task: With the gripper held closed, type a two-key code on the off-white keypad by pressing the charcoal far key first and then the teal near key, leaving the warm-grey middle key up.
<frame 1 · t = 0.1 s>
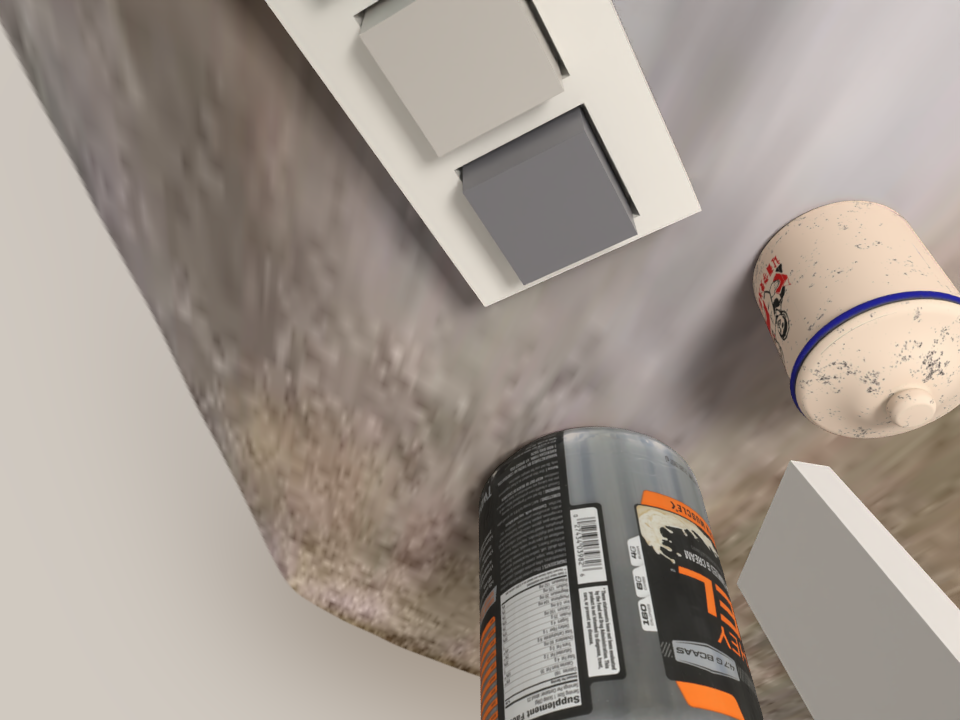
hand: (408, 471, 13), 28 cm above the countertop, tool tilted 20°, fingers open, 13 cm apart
grey key: (464, 49, 33), point 3 cm above the countertop, slide at 0.0 cm
charcoal key: (549, 196, 38), point 3 cm above the countertop, slide at 0.0 cm
supplement tub: (586, 487, 58), on the countertop
keypad: (464, 20, 36), on the countertop
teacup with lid: (834, 280, 46), on the countertop
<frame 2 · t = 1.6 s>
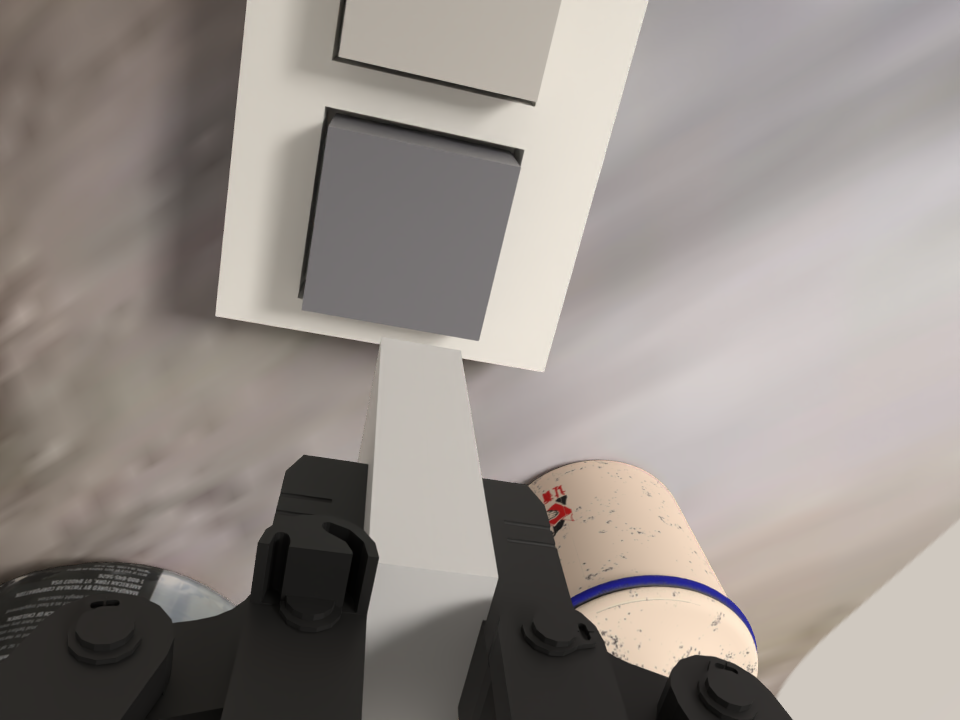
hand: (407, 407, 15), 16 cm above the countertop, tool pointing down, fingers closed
charcoal key: (408, 228, 27), point 3 cm above the countertop, slide at 0.0 cm
supplement tub: (125, 672, 38), on the countertop
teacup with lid: (578, 558, 38), on the countertop
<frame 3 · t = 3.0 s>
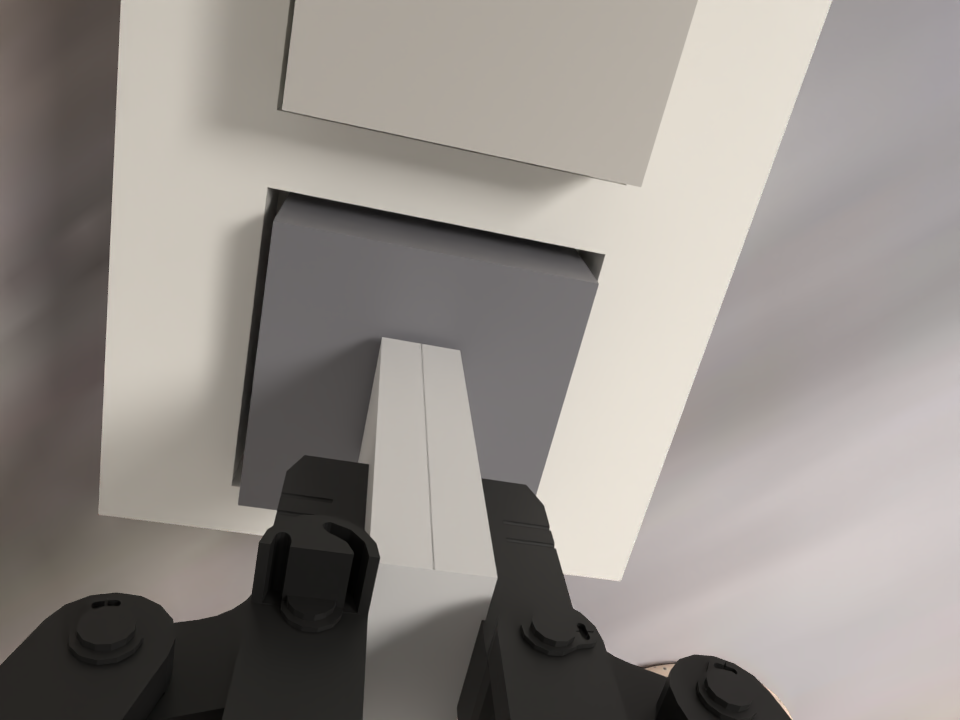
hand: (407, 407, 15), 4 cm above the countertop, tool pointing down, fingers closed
charcoal key: (410, 366, 17), point 3 cm above the countertop, slide at 0.7 cm, touching gripper
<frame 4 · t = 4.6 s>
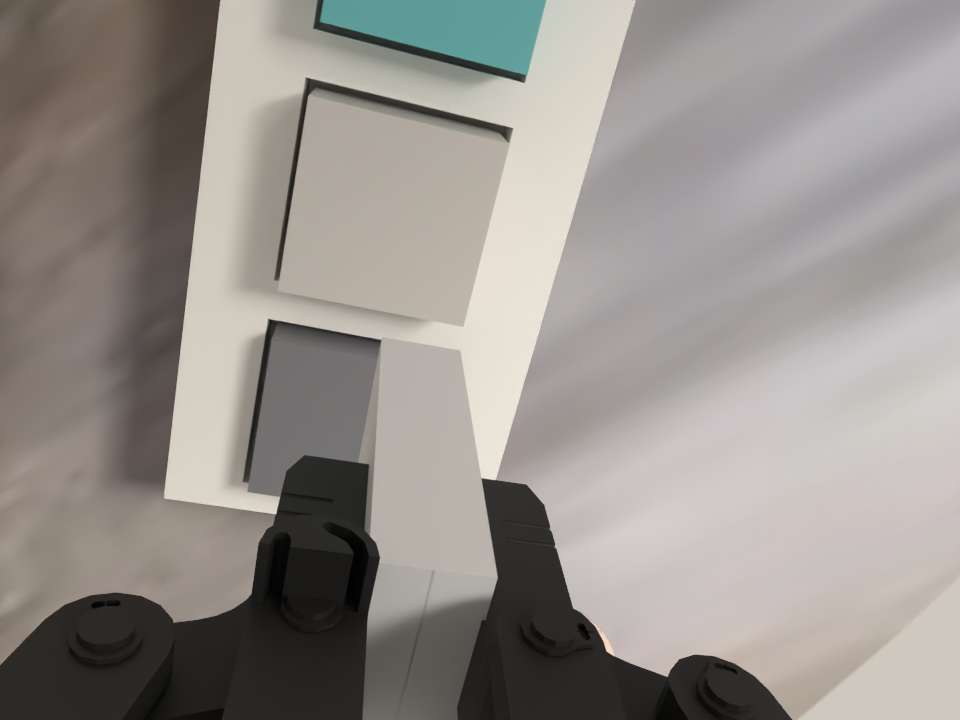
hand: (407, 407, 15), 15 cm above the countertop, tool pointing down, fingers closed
grey key: (391, 208, 26), point 3 cm above the countertop, slide at 0.0 cm
charcoal key: (347, 413, 30), point 3 cm above the countertop, slide at 0.7 cm
keypad: (390, 187, 29), on the countertop
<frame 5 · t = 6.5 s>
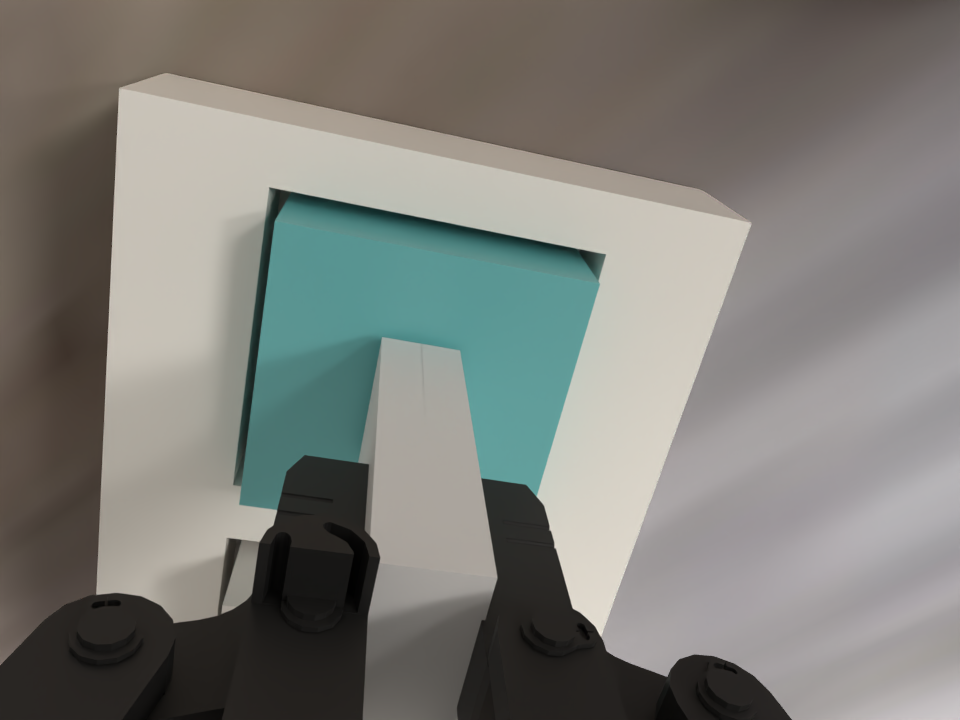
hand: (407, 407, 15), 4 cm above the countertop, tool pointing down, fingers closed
grey key: (350, 672, 19), point 3 cm above the countertop, slide at 0.0 cm
teal key: (411, 366, 17), point 3 cm above the countertop, slide at 0.7 cm, touching gripper
keypad: (357, 582, 22), on the countertop
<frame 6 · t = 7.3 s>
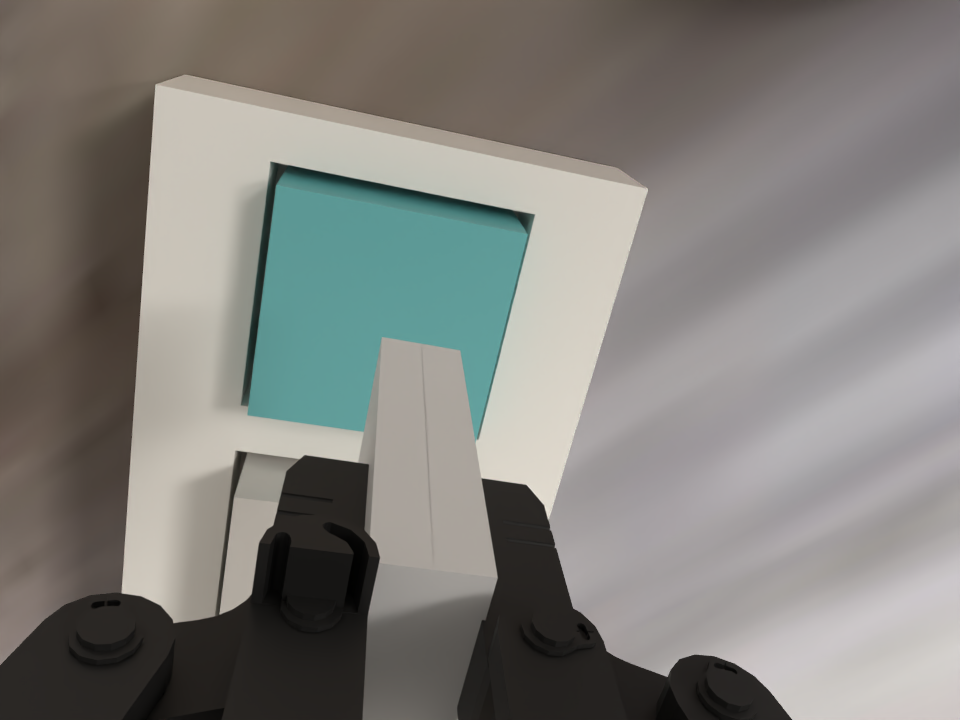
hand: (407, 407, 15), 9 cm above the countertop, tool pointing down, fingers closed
grey key: (336, 567, 24), point 3 cm above the countertop, slide at 0.0 cm
teal key: (383, 306, 21), point 3 cm above the countertop, slide at 0.8 cm
keypad: (341, 504, 27), on the countertop
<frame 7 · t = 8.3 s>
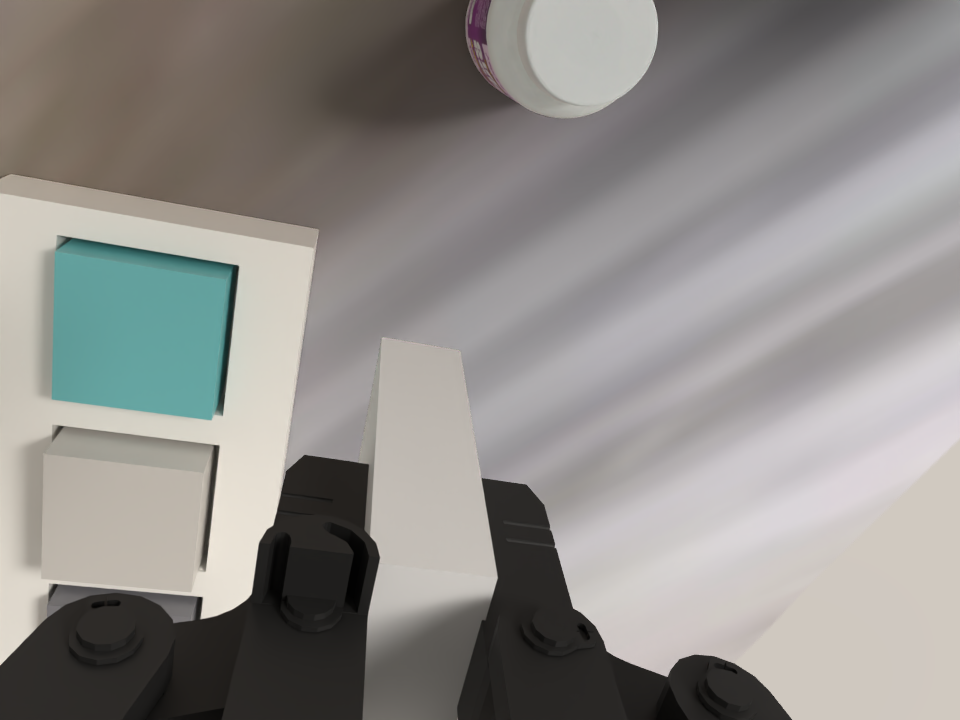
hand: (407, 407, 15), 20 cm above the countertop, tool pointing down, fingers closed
pill bottle: (529, 29, 32), on the countertop
grey key: (131, 506, 34), point 3 cm above the countertop, slide at 0.0 cm
charcoal key: (126, 640, 38), point 3 cm above the countertop, slide at 0.7 cm
teal key: (147, 326, 32), point 3 cm above the countertop, slide at 0.8 cm
keypad: (150, 466, 37), on the countertop
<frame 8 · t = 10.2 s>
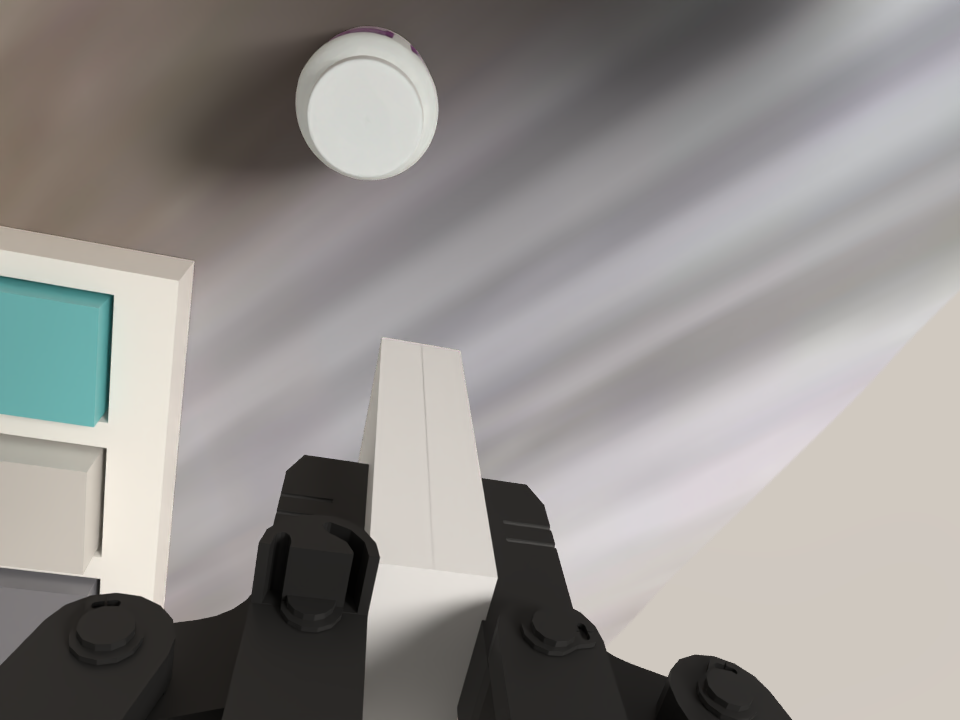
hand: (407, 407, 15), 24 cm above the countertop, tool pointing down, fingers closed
pill bottle: (372, 89, 36), on the countertop
grey key: (31, 498, 39), point 3 cm above the countertop, slide at 0.0 cm
charcoal key: (36, 614, 43), point 3 cm above the countertop, slide at 0.7 cm
teal key: (39, 345, 37), point 3 cm above the countertop, slide at 0.8 cm
keypad: (57, 463, 42), on the countertop
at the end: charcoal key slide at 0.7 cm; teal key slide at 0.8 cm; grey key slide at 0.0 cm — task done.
